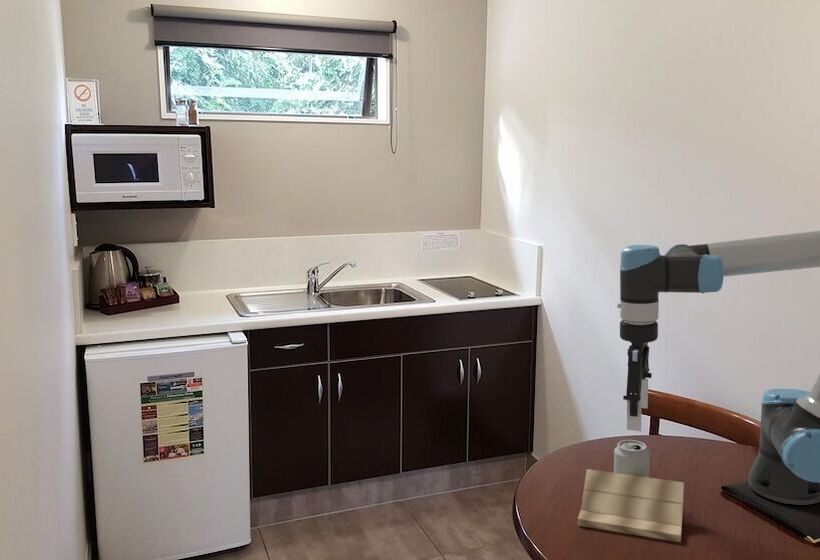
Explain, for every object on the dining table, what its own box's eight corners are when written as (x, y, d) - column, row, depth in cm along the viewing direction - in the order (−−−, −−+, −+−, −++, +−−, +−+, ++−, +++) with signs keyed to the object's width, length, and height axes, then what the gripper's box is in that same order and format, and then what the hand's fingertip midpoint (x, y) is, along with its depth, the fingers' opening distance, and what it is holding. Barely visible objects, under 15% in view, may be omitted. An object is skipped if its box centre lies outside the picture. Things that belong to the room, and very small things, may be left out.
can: (650, 504, 159) (651, 452, 156) (614, 501, 160) (615, 450, 158) (646, 488, 166) (647, 438, 164) (612, 486, 167) (613, 436, 165)
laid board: (681, 532, 147) (681, 525, 146) (680, 542, 143) (680, 535, 143) (580, 516, 154) (580, 509, 154) (577, 525, 151) (577, 518, 150)
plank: (683, 485, 153) (684, 482, 152) (681, 528, 147) (681, 525, 146) (587, 472, 161) (586, 469, 160) (581, 512, 155) (580, 509, 154)
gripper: (627, 306, 163) (626, 397, 167) (611, 334, 140) (610, 438, 144) (662, 308, 160) (661, 400, 164) (652, 336, 137) (650, 442, 141)
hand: (637, 418), depth 154 cm, fingers open, 13 cm apart
